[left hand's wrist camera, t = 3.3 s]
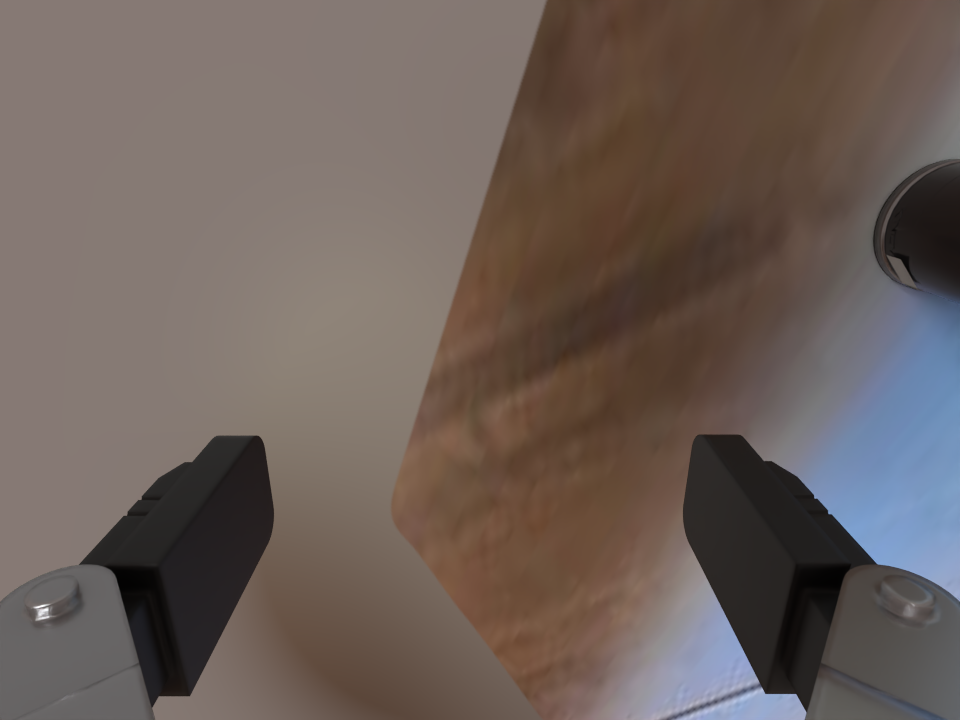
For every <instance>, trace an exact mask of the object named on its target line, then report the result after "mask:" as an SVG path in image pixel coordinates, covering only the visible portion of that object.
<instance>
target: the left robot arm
mask: <svg viewBox="0 0 960 720" xmlns="http://www.w3.org/2000/svg"><path fill="white" fill-rule="evenodd" d="M874 246H875V252H876V256H877V259H878V262H879V264H880V266H881V267H882V269H883V270H884V272H885V273H886V274H887V275H888V276H889V277H891V278H892V279H893V280H895V281H896V282H898V283H900V284H902V285H905V286H908V287H910V288H913V289H916V290H921V291H926V292H928V293H931V294H934V295H936V296H939V297H941V298H944V299H947V300H950V301H952V302H955V303H958V304H960V159H950V160H944V161H940V162H937V163H934V164H931V165H929V166H927V167H924V168H922V169H921V170H919V171H917V172H916V173H914V174H913V175H911V176H910V177H909V178H907V179H906V180H905V181H904V182H903V183H902V184H901V185H899V187H898V188H897V189H896V190H895V191H894V192H893V193H892V195H891V196H890V197H889V199H888V200H887V202H886V203H885V205H884V207H883V209H882V211H881V213H880V215H879V218H878V221H877V225H876V229H875V237H874ZM273 521H274V508H273V501H272V494H271V487H270V480H269V473H268V467H267V460H266V453H265V447H264V443H263V441H262V439H261V438H260V437H259V436H216V437H214V438H213V439H212V440H211V441H210V442H209V443H208V445H207V446H206V447H205V448H204V449H203V450H202V452H201V453H200V454H199V455H198V456H197V457H196V459H195V460H194V461H193V462H185V463H183V464H181V465H180V466H178V467H176V468H175V469H173V470H171V471H170V472H168V473H166V474H165V475H163V476H161V477H160V478H158V479H157V481H156V482H155V483H154V484H153V485H152V486H151V487H150V488H149V489H148V490H147V491H146V493H145V494H144V495H143V496H142V500H138V501H137V502H136V503H135V504H134V505H133V507H132V508H131V509H130V510H129V511H128V514H127V516H123V517H122V518H121V520H120V521H119V522H118V523H117V524H116V525H115V526H114V527H113V528H112V529H111V530H110V531H109V533H108V534H107V535H106V536H105V537H104V538H103V539H102V540H101V541H100V542H99V543H98V545H97V546H96V547H95V548H94V549H93V550H92V551H91V552H90V553H89V554H88V555H87V556H86V558H85V559H84V560H83V561H82V562H81V563H80V564H79V565H75V566H69V567H65V568H61V569H58V570H54V571H51V572H48V573H46V574H43V575H41V576H38V577H36V578H34V579H32V580H30V581H28V582H27V583H25V584H23V585H21V586H20V587H18V588H17V589H15V590H14V591H12V592H11V593H10V594H9V595H7V596H6V597H5V598H4V599H3V600H2V601H1V602H0V720H155V717H154V714H153V710H152V707H153V705H154V704H155V702H156V700H157V698H158V697H159V696H190V695H191V693H192V691H193V689H194V687H195V685H196V683H197V681H198V679H199V677H200V675H201V673H202V671H203V669H204V667H205V666H206V664H207V662H208V660H209V658H210V656H211V654H212V652H213V650H214V648H215V646H216V644H217V642H218V640H219V638H220V636H221V634H222V632H223V630H224V628H225V626H226V625H227V623H228V621H229V619H230V617H231V615H232V613H233V611H234V609H235V607H236V605H237V603H238V601H239V599H240V597H241V595H242V593H243V591H244V589H245V587H246V586H247V584H248V582H249V580H250V578H251V576H252V574H253V572H254V570H255V568H256V566H257V564H258V562H259V560H260V558H261V556H262V554H263V552H264V550H265V548H266V546H267V545H268V542H269V540H270V537H271V533H272V529H273ZM683 522H684V528H685V533H686V536H687V539H688V542H689V544H690V546H691V548H692V550H693V552H694V554H695V556H696V558H697V560H698V561H699V563H700V565H701V567H702V569H703V571H704V573H705V575H706V577H707V579H708V581H709V583H710V585H711V587H712V589H713V591H714V593H715V595H716V597H717V599H718V601H719V603H720V605H721V607H722V609H723V611H724V613H725V615H726V617H727V619H728V621H729V623H730V625H731V627H732V629H733V631H734V633H735V635H736V637H737V639H738V641H739V643H740V644H741V646H742V648H743V650H744V652H745V654H746V656H747V658H748V660H749V662H750V664H751V666H752V668H753V670H754V672H755V674H756V676H757V678H758V680H759V682H760V684H761V686H762V688H763V690H764V692H765V694H797V696H798V698H799V700H800V701H801V703H802V705H803V707H804V709H805V710H806V712H807V714H806V717H805V720H960V602H959V601H958V600H957V599H956V598H955V597H954V596H953V595H951V594H950V593H949V592H948V591H946V590H945V589H943V588H942V587H940V586H939V585H937V584H935V583H933V582H932V581H930V580H928V579H926V578H924V577H922V576H919V575H917V574H914V573H912V572H909V571H906V570H903V569H899V568H895V567H891V566H885V565H877V564H876V562H875V561H874V560H873V559H872V558H871V557H870V556H869V555H868V554H867V553H866V552H865V550H864V549H863V548H862V547H861V546H860V545H859V544H858V543H857V542H856V541H855V539H854V538H853V537H852V536H851V535H850V534H849V533H848V532H847V531H846V530H845V529H844V527H843V526H842V525H841V524H840V523H839V522H838V521H837V520H836V519H835V518H834V517H833V515H832V514H828V510H827V509H826V508H825V507H824V506H823V504H822V503H821V502H820V501H819V500H818V499H814V495H813V494H812V492H811V491H810V490H809V489H808V488H807V487H806V486H805V485H804V484H803V483H802V482H801V480H800V479H799V478H798V477H797V476H795V475H793V474H792V473H790V472H788V471H787V470H785V469H783V468H782V467H780V466H779V465H777V464H775V463H774V462H772V461H763V460H762V458H761V457H760V456H759V455H758V454H757V453H756V451H755V450H754V449H753V448H752V447H751V446H750V444H749V443H748V442H747V441H746V440H745V439H744V438H743V437H742V436H741V435H697V436H696V438H695V439H694V441H693V445H692V450H691V457H690V464H689V471H688V478H687V485H686V491H685V498H684V505H683Z"/></svg>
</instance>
